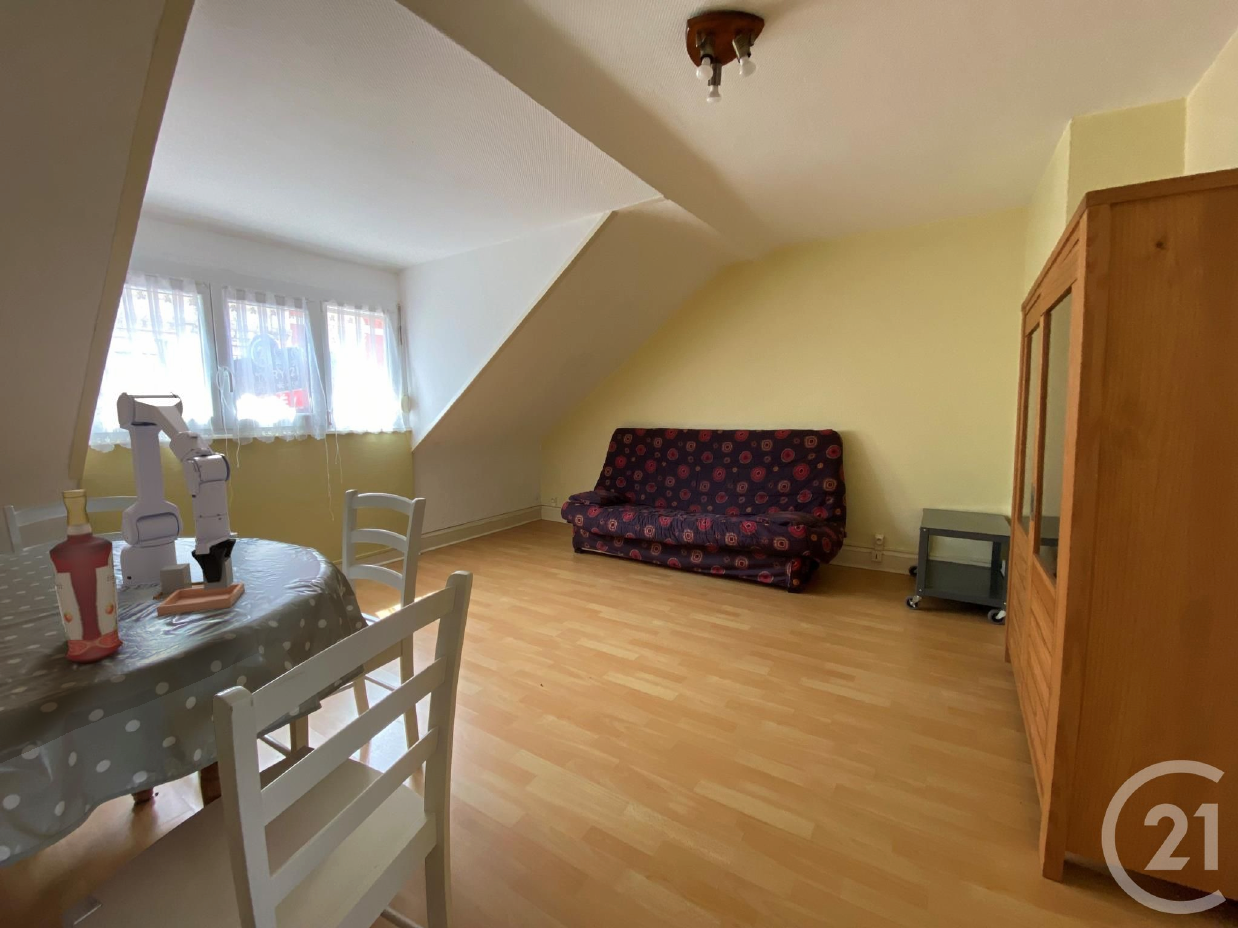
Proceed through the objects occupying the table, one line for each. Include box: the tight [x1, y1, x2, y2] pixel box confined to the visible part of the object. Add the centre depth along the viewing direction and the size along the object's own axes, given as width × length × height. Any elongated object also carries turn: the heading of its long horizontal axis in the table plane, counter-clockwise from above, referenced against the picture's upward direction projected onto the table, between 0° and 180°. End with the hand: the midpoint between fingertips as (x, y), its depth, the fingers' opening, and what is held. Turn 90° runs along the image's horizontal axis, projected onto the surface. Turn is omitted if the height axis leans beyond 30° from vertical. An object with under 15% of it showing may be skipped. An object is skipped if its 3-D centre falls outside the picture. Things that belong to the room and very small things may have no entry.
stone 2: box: [201, 556, 235, 590], centre depth 113 cm, size 4×4×6 cm
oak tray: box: [151, 580, 204, 601], centre depth 120 cm, size 12×8×1 cm, turn 111°
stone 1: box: [160, 562, 193, 595], centre depth 119 cm, size 4×4×6 cm
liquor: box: [48, 489, 124, 664], centre depth 89 cm, size 7×7×28 cm
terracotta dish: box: [156, 582, 246, 617], centre depth 113 cm, size 12×10×2 cm
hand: (217, 578), depth 113 cm, fingers closed on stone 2, 4 cm apart
